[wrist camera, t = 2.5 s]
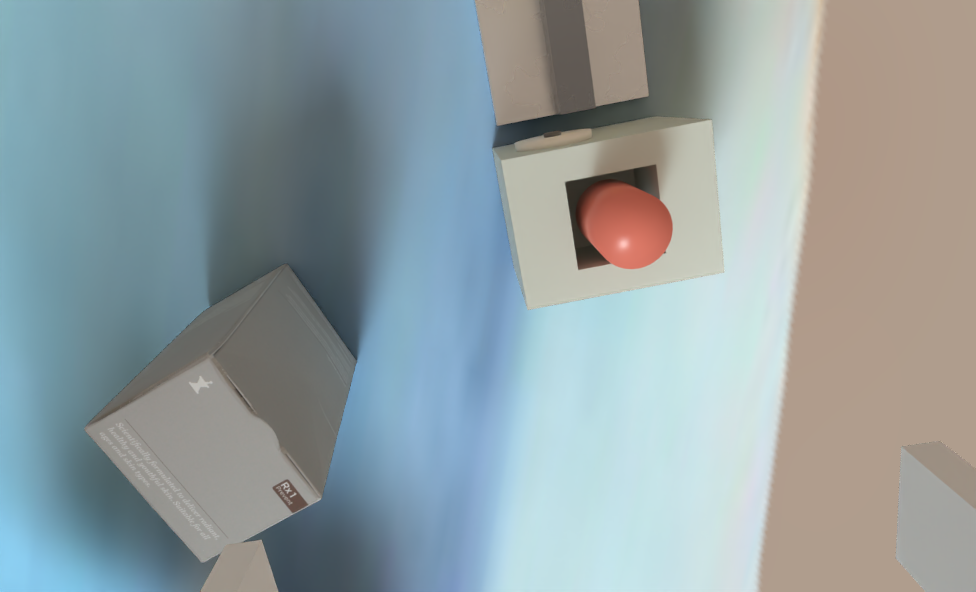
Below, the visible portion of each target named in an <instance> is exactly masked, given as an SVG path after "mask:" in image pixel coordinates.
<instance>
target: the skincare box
mask: <svg viewBox="0 0 976 592" xmlns="http://www.w3.org/2000/svg"><path fill="white" fill-rule="evenodd" d="M356 363H357V361H356V360H355V358H354V357H353V355H352V354H351V352H350V351H349V350H348V348H347V347H346V345H345V344H344V342H343V341H342V340H341V338H340V337H339V335H338V334H337V333H336V331H335V330H334V328H333V327H332V326H331V324H330V323H329V321H328V320H327V318H326V317H325V316H324V314H323V313H322V311H321V310H320V309H319V307H318V306H317V304H316V303H315V301H314V300H313V299H312V297H311V296H310V294H309V293H308V292H307V290H306V289H305V287H304V286H303V285H302V283H301V282H300V280H299V279H298V278H297V276H296V275H295V274H294V272H293V271H292V269H291V268H290V267H289V265H288V264H283V265H282V266H280V267H278V268H276V269H275V270H273V271H271V272H270V273H268V274H266V275H264V276H263V277H261V278H259V279H258V280H256V281H254V282H253V283H251V284H249V285H247V286H246V287H244V288H242V289H241V290H239V291H237V292H235V293H234V294H232V295H230V296H228V297H227V298H225V299H223V300H222V301H220V302H218V303H216V304H215V305H213V306H211V307H210V308H208V309H206V310H205V311H203V312H202V313H201V314H200V315H199V316H198V317H197V318H196V319H195V320H194V321H193V322H192V323H191V324H190V325H188V326H187V327H186V328H185V329H184V330H183V331H182V332H181V333H180V334H179V335H178V336H177V337H176V338H175V339H174V340H173V341H172V342H171V343H170V344H169V345H168V346H167V347H166V348H165V349H164V350H163V351H162V352H161V353H160V354H159V355H158V356H157V357H156V358H155V359H154V360H153V361H151V362H150V363H149V364H148V365H147V366H146V367H145V368H144V369H143V370H142V371H141V372H140V373H139V374H138V375H137V376H136V377H135V378H134V379H133V380H132V381H131V382H130V383H129V384H128V385H127V386H126V387H125V388H124V389H123V390H122V391H121V392H120V393H119V394H118V395H117V396H116V397H115V398H114V399H113V400H111V401H110V402H109V403H108V404H107V405H106V406H105V407H104V408H103V409H102V410H101V411H100V412H99V413H98V414H97V415H96V416H95V417H94V418H93V419H92V420H91V421H90V422H89V423H88V424H87V425H86V426H85V428H84V430H85V431H86V433H87V434H88V435H89V436H90V437H91V438H92V439H93V440H94V441H95V442H96V444H97V445H98V446H99V447H100V448H101V449H102V450H103V451H104V453H105V454H106V455H107V456H108V457H109V458H110V459H111V461H112V462H113V463H114V464H115V465H116V466H117V467H118V469H119V470H120V471H121V472H122V473H123V474H124V476H125V477H126V478H127V479H128V480H129V481H130V483H131V484H132V485H133V486H134V487H135V488H136V489H137V491H138V492H139V493H140V494H141V495H142V496H143V497H144V499H145V500H146V501H147V502H148V503H149V504H150V506H151V507H152V508H153V509H154V510H155V511H156V512H157V513H158V514H159V515H160V517H161V518H162V519H163V520H164V521H165V522H166V523H167V525H168V526H169V527H170V528H171V529H172V530H173V531H174V532H175V533H176V534H177V536H178V537H179V538H180V539H181V540H182V541H183V542H184V543H185V545H186V546H187V547H188V548H189V549H190V550H191V551H192V553H193V554H194V555H195V556H196V557H197V558H198V559H199V560H200V562H202V563H204V562H206V561H207V560H209V559H211V558H213V557H215V556H216V555H218V554H220V553H221V552H222V550H223V549H224V547H225V545H228V544H235V543H241V542H243V541H245V540H247V539H249V538H251V537H252V536H254V535H256V534H258V533H260V532H262V531H264V530H266V529H267V528H269V527H271V526H273V525H275V524H277V523H279V522H280V521H282V520H284V519H286V518H288V517H290V516H291V515H293V514H295V513H297V512H299V511H301V510H303V509H304V508H306V507H308V506H310V505H312V504H314V503H316V502H318V501H319V500H321V499H322V495H323V491H324V487H325V483H326V479H327V475H328V471H329V467H330V463H331V459H332V455H333V451H334V446H335V442H336V439H337V435H338V431H339V427H340V424H341V420H342V416H343V412H344V408H345V405H346V401H347V397H348V393H349V389H350V386H351V382H352V378H353V373H354V370H355V366H356Z"/></svg>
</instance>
